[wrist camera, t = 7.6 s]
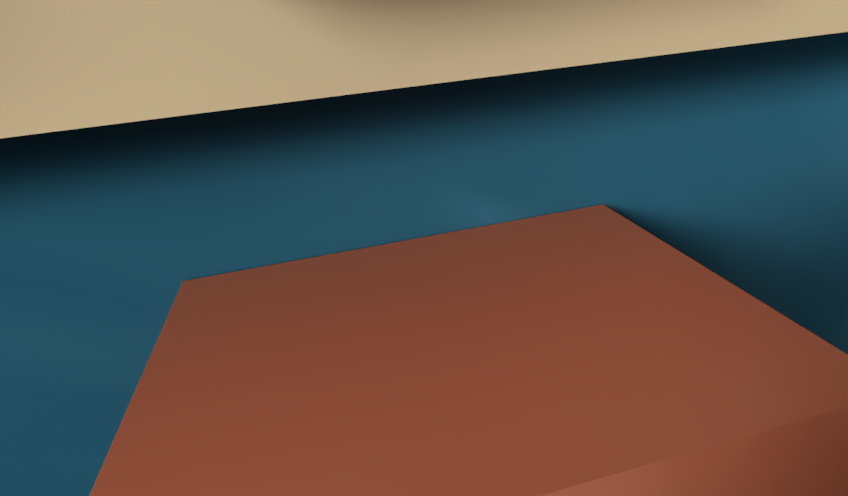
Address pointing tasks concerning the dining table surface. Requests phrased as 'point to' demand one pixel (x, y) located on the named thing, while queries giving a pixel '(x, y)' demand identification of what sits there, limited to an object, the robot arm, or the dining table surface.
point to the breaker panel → (335, 48)
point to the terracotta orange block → (484, 376)
